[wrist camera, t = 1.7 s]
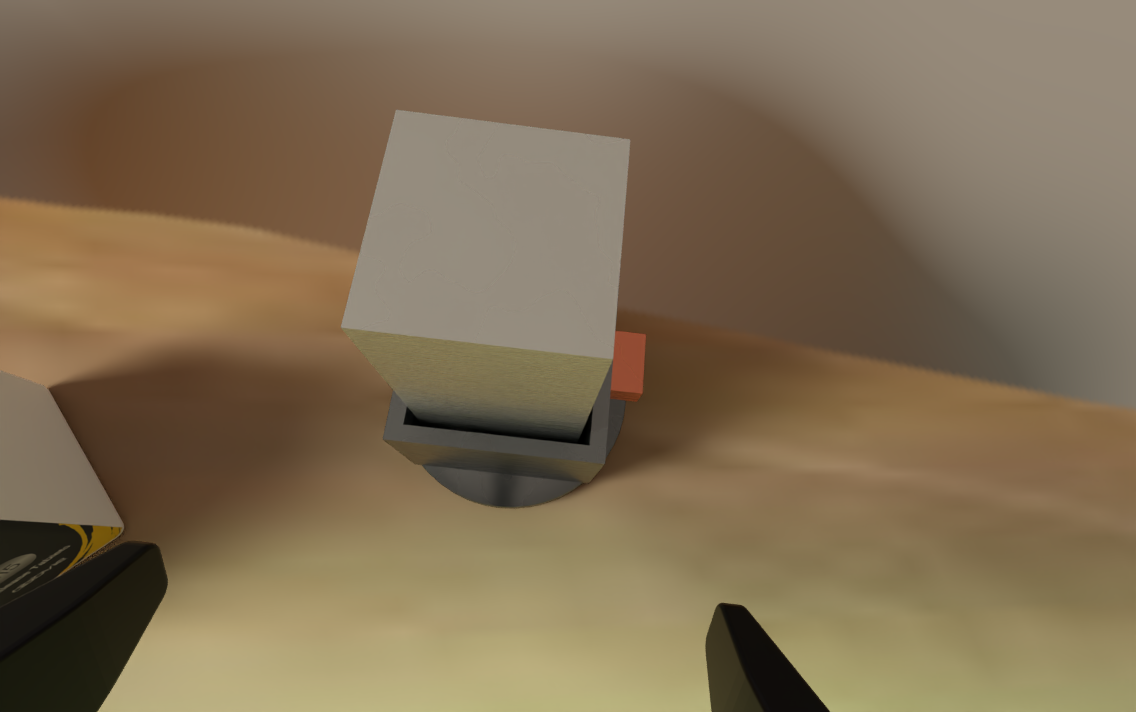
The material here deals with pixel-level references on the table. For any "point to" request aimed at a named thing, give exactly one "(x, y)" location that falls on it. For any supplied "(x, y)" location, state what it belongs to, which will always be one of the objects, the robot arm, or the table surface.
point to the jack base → (523, 444)
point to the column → (492, 274)
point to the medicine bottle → (45, 492)
